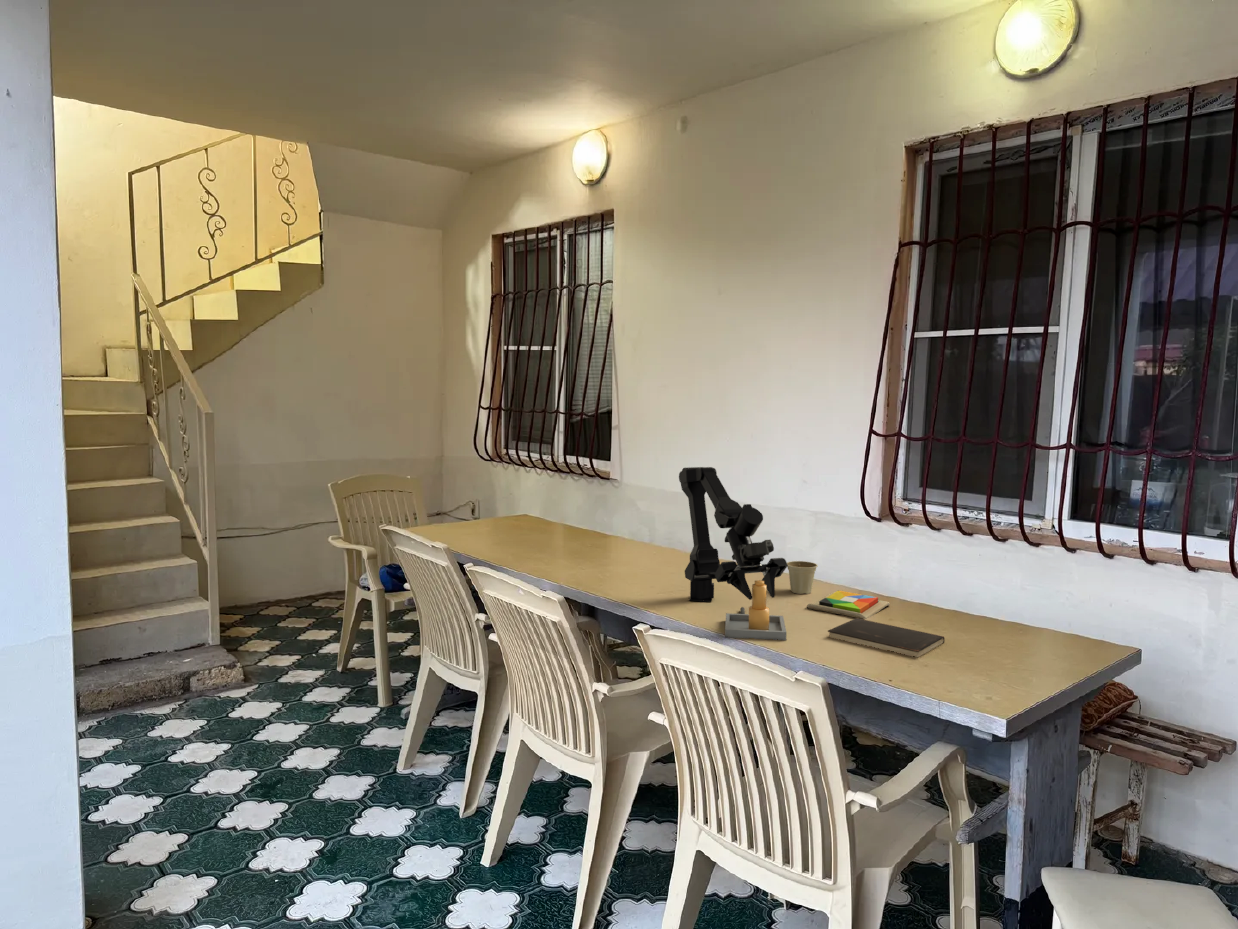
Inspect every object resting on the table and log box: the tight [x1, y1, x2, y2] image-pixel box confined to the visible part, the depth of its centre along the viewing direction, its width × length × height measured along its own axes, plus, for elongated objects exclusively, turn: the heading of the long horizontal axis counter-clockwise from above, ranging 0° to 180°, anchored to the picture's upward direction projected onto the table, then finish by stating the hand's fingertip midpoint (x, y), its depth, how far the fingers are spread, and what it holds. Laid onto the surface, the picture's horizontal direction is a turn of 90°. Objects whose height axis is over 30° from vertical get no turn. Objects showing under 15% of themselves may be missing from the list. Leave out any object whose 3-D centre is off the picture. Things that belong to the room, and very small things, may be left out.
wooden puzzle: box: [806, 590, 891, 620], centre depth 232 cm, size 18×19×4 cm
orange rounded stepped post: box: [748, 579, 770, 630], centre depth 207 cm, size 5×5×12 cm
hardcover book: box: [827, 617, 945, 658], centre depth 201 cm, size 16×23×2 cm
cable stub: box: [739, 606, 746, 614], centre depth 222 cm, size 1×10×1 cm, turn 172°
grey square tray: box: [724, 612, 787, 641], centre depth 209 cm, size 15×15×2 cm
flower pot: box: [786, 560, 819, 595], centre depth 249 cm, size 9×9×9 cm
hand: (762, 598), depth 206 cm, fingers open, 6 cm apart
